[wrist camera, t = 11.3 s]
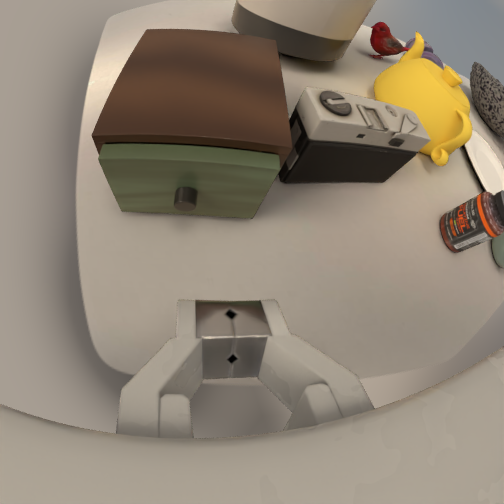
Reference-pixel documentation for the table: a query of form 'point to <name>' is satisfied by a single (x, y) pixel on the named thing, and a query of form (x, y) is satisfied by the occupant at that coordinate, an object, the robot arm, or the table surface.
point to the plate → (485, 163)
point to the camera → (349, 138)
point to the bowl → (488, 97)
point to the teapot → (428, 100)
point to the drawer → (188, 178)
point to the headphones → (427, 53)
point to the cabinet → (199, 93)
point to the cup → (498, 249)
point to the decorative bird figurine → (384, 41)
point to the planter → (303, 24)
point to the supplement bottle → (474, 221)
